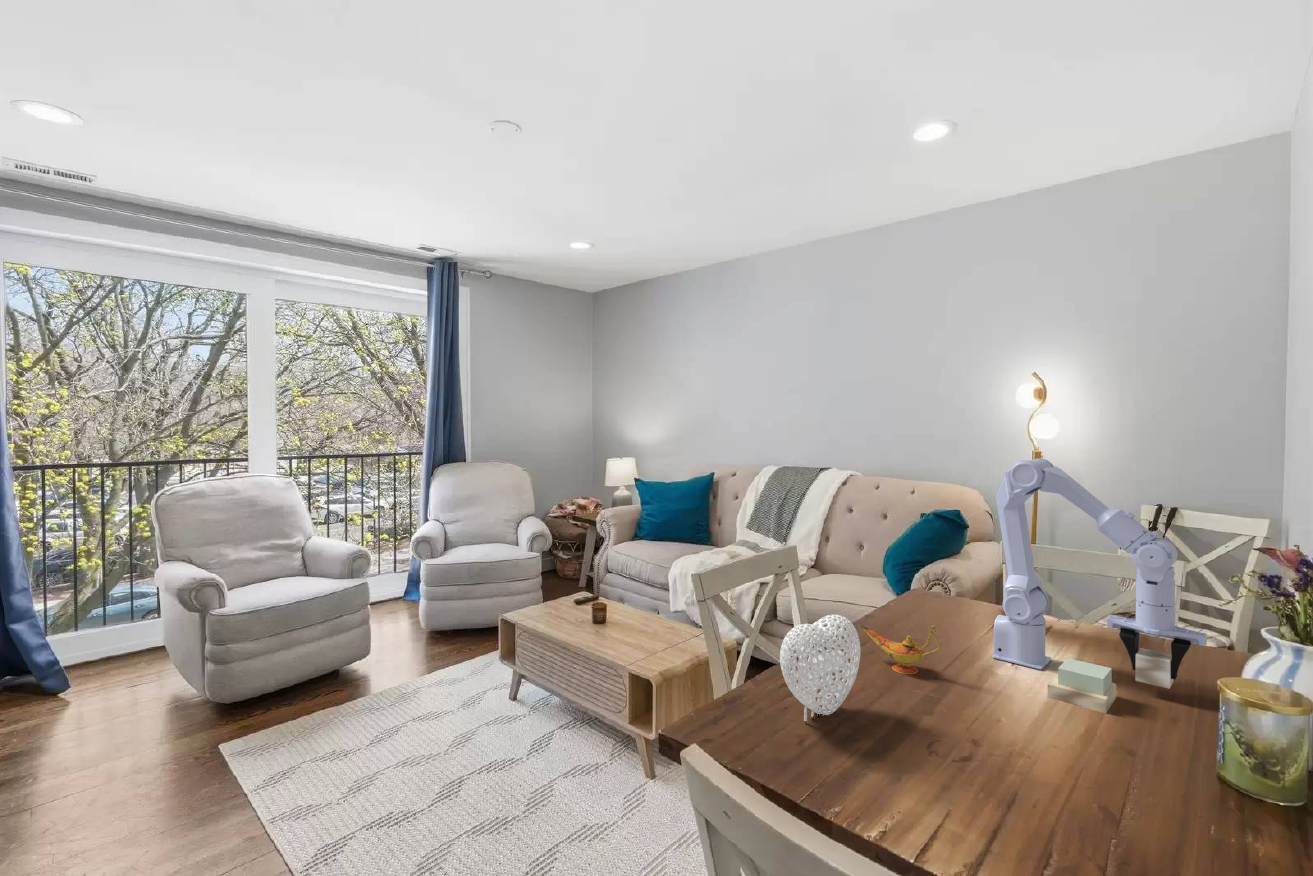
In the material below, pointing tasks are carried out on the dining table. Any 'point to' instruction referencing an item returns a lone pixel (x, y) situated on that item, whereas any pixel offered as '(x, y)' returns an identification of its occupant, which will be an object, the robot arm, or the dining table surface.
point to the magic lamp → (902, 650)
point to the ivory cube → (1153, 668)
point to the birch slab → (1082, 696)
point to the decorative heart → (821, 663)
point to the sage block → (1085, 676)
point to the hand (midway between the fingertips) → (1154, 673)
